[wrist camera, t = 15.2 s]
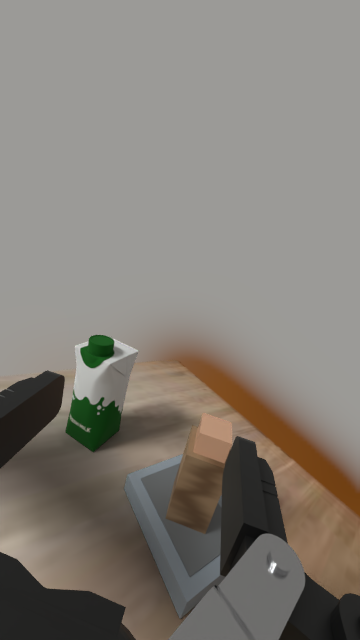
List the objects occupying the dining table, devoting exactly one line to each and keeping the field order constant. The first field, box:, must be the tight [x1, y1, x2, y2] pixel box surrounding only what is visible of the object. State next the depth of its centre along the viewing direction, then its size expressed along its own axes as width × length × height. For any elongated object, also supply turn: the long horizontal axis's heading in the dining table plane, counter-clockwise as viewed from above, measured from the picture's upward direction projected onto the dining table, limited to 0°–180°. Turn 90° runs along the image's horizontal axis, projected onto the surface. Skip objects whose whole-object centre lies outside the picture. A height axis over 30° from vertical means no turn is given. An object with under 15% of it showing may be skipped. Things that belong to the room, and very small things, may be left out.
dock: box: [124, 454, 225, 619], centre depth 36 cm, size 16×12×3 cm
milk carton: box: [66, 335, 139, 452], centre depth 45 cm, size 9×9×20 cm
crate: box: [165, 425, 230, 534], centre depth 34 cm, size 6×6×11 cm
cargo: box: [193, 413, 232, 463], centre depth 32 cm, size 4×4×3 cm
